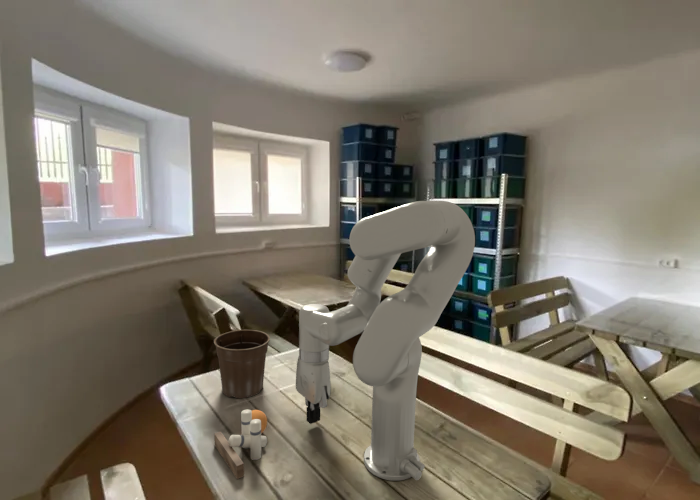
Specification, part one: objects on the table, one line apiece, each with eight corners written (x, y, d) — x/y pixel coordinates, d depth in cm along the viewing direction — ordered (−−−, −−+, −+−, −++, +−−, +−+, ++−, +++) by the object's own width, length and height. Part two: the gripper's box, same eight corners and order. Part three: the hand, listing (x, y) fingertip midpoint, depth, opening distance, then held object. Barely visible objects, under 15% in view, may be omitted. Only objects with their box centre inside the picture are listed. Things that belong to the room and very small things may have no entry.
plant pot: (280, 390, 121) (280, 340, 119) (230, 409, 110) (229, 353, 108) (253, 372, 133) (253, 326, 131) (206, 387, 122) (205, 337, 120)
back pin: (263, 457, 91) (262, 422, 89) (253, 461, 89) (252, 426, 88) (258, 451, 93) (258, 417, 91) (248, 455, 91) (248, 421, 90)
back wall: (244, 476, 84) (243, 463, 84) (237, 479, 84) (236, 466, 83) (220, 442, 95) (220, 431, 95) (214, 445, 95) (214, 433, 94)
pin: (253, 446, 95) (253, 412, 93) (244, 449, 93) (243, 416, 92) (249, 440, 96) (249, 408, 95) (240, 444, 95) (239, 411, 94)
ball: (257, 440, 94) (270, 415, 97) (235, 427, 95) (249, 403, 98) (259, 441, 100) (272, 418, 102) (239, 429, 100) (253, 407, 103)
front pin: (268, 438, 94) (235, 437, 89) (264, 449, 93) (231, 448, 88) (263, 433, 96) (231, 432, 91) (260, 443, 95) (227, 443, 90)
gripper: (286, 347, 104) (286, 412, 106) (317, 367, 92) (316, 440, 95) (311, 341, 108) (310, 404, 111) (343, 360, 97) (342, 429, 99)
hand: (313, 420), depth 103 cm, fingers closed
